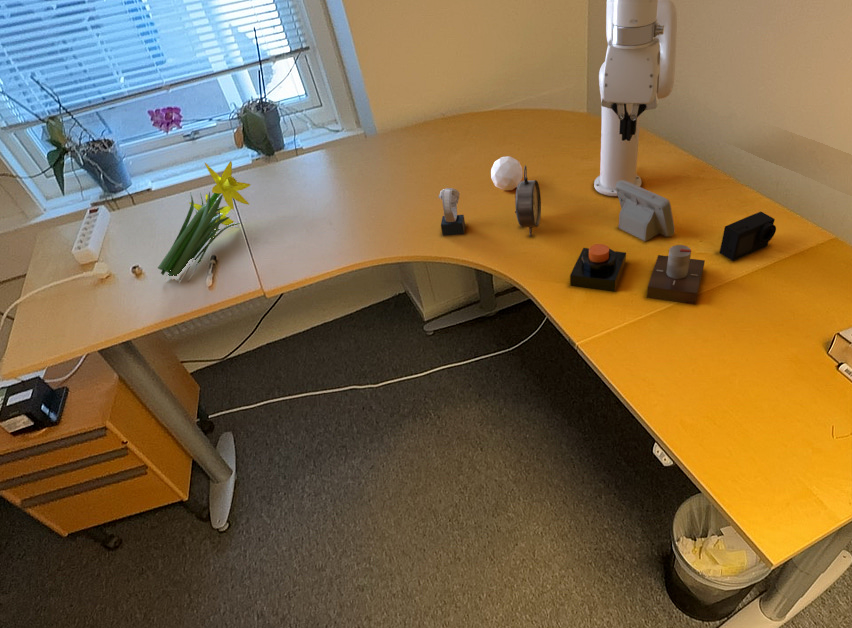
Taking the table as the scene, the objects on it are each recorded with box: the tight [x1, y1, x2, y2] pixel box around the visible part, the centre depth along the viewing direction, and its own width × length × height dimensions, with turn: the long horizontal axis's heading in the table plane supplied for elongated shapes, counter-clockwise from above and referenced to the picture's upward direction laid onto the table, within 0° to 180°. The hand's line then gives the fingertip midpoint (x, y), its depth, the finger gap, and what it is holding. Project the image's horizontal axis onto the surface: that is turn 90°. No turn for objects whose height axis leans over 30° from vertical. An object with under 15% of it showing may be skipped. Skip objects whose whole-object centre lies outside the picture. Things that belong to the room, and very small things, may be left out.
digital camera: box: [719, 211, 777, 262], centre depth 128 cm, size 10×5×7 cm, turn 117°
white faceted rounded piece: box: [490, 155, 524, 191], centre depth 160 cm, size 9×9×12 cm
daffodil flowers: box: [157, 160, 251, 276], centre depth 151 cm, size 17×15×35 cm
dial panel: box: [646, 254, 706, 305], centre depth 124 cm, size 12×10×3 cm
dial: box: [666, 244, 692, 279], centre depth 121 cm, size 4×4×6 cm
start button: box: [588, 243, 610, 263], centre depth 126 cm, size 4×4×2 cm
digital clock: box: [616, 180, 676, 242], centre depth 137 cm, size 16×9×11 cm, turn 26°
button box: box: [569, 247, 627, 293], centre depth 128 cm, size 11×10×5 cm
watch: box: [438, 187, 466, 237], centre depth 145 cm, size 6×8×11 cm
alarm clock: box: [514, 165, 542, 238], centre depth 141 cm, size 11×5×16 cm, turn 168°
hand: (627, 137), depth 115 cm, fingers closed
